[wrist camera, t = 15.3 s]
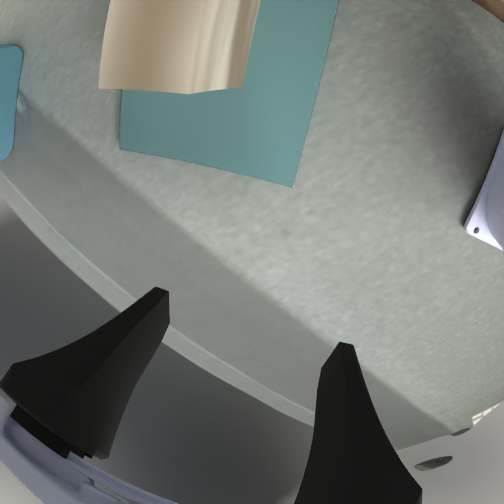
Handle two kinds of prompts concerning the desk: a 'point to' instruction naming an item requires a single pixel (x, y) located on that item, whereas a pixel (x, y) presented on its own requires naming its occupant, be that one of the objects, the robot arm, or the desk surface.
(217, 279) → the desk surface
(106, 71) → the ash blank
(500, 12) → the frame
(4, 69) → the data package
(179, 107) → the slate-teal mat
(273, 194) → the desk surface
